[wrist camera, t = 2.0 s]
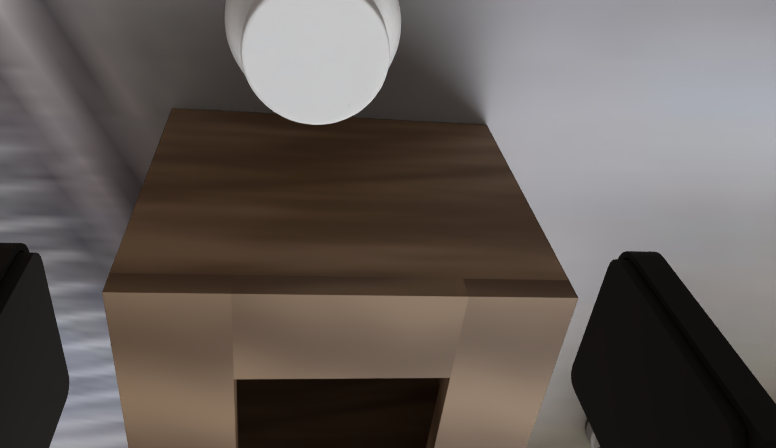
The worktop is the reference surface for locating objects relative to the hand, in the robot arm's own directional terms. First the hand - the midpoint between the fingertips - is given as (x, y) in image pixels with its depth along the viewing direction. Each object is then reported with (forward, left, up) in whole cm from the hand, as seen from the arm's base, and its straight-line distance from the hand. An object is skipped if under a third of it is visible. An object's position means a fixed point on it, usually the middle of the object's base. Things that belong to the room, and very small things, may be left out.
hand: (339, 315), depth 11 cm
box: (+15, +1, -23) cm, 27 cm away
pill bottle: (0, 0, -23) cm, 23 cm away
